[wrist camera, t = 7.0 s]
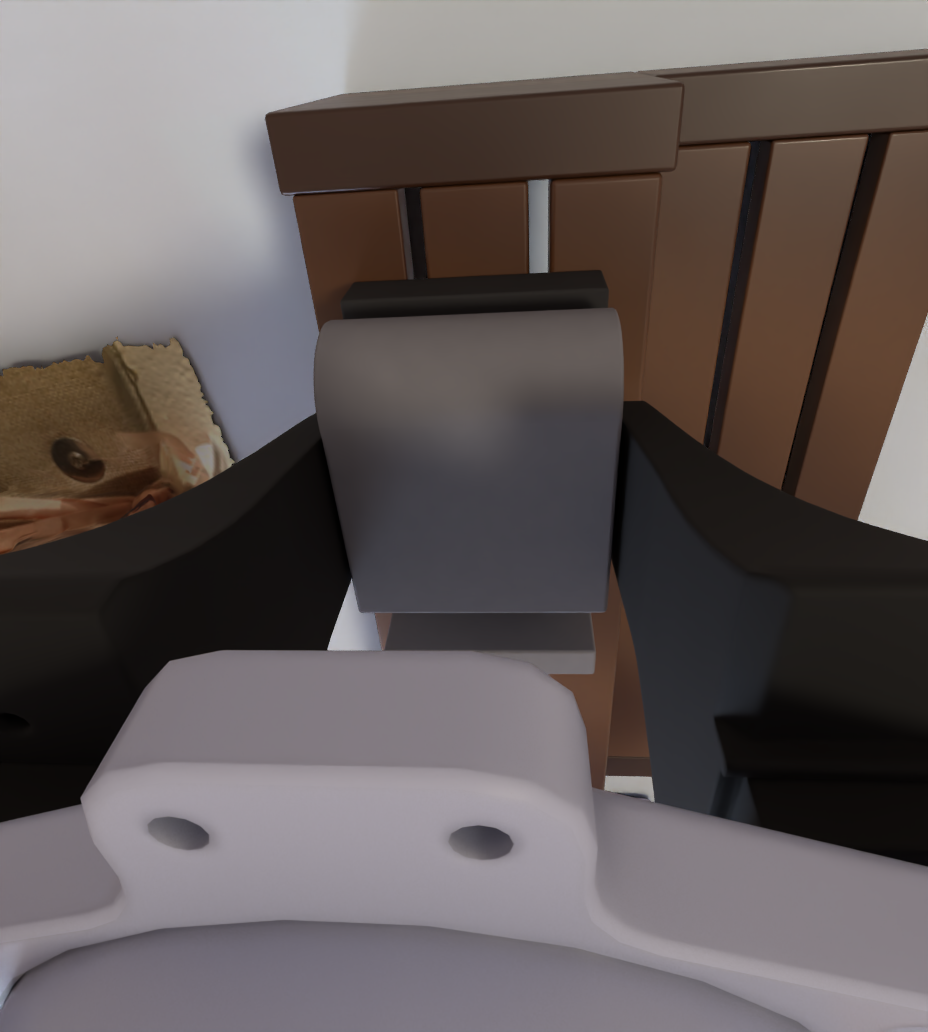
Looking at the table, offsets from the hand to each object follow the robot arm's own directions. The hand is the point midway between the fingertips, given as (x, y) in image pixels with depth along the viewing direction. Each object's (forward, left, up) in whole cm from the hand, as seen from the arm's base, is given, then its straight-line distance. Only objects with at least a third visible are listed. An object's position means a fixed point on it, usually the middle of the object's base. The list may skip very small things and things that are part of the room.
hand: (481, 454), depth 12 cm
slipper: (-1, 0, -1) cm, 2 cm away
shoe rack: (-6, -3, -7) cm, 9 cm away
